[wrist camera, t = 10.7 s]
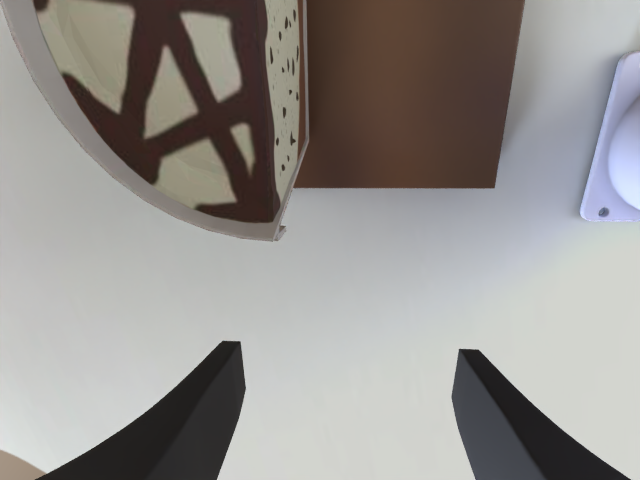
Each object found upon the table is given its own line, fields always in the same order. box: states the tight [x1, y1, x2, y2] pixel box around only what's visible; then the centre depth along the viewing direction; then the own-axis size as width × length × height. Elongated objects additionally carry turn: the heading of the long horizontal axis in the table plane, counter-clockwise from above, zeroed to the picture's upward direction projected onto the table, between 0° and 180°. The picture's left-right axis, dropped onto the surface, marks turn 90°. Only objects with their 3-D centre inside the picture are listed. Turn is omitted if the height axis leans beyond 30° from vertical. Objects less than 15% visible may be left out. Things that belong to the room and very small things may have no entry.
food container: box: [0, 0, 309, 242], centre depth 13 cm, size 12×6×10 cm, turn 0°
